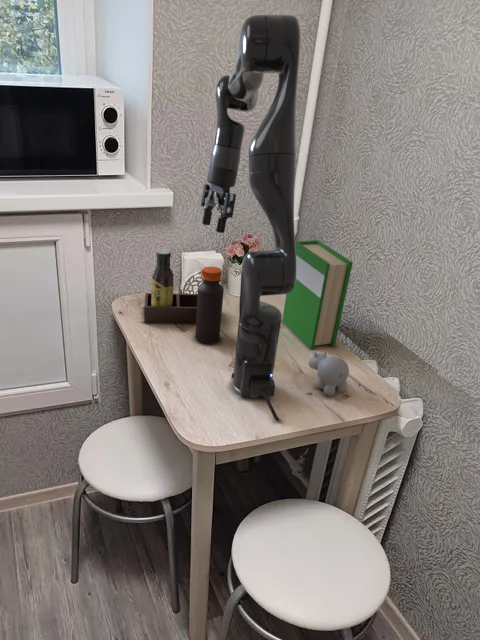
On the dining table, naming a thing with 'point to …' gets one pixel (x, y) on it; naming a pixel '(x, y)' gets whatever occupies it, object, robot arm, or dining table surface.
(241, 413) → the dining table surface
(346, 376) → the round bodied animal figurine
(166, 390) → the dining table surface
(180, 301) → the divided storage box
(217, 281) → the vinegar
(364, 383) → the dining table surface
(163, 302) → the sauce bottle
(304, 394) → the dining table surface
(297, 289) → the hardback book
